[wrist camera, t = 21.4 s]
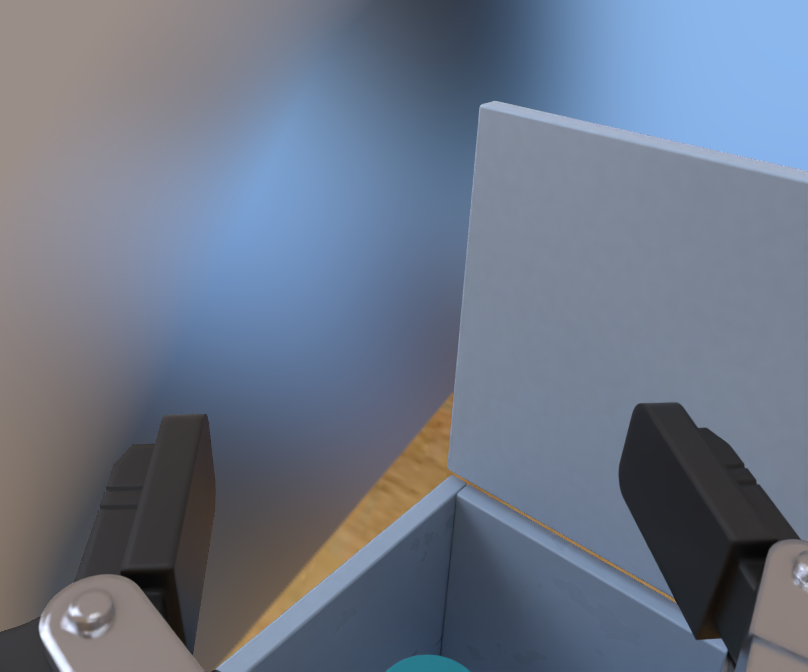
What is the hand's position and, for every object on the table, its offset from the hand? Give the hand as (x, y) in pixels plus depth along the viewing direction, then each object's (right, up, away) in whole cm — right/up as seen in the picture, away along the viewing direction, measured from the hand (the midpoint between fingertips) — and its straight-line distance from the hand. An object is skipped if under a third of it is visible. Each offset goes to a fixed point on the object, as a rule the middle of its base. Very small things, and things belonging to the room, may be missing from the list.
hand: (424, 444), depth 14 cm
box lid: (+6, +1, +5) cm, 7 cm away
